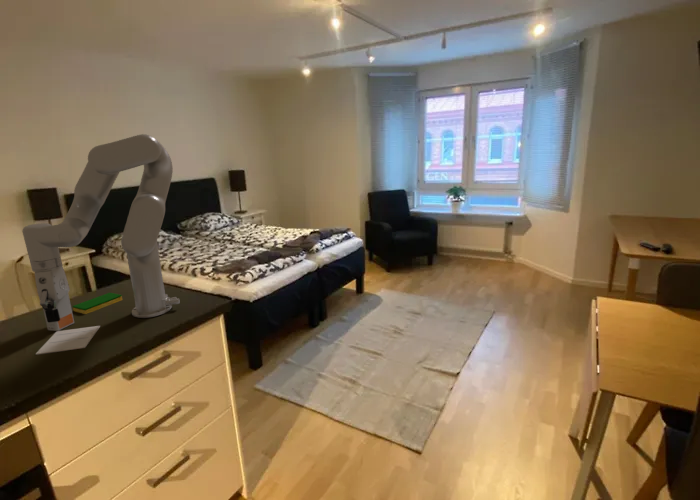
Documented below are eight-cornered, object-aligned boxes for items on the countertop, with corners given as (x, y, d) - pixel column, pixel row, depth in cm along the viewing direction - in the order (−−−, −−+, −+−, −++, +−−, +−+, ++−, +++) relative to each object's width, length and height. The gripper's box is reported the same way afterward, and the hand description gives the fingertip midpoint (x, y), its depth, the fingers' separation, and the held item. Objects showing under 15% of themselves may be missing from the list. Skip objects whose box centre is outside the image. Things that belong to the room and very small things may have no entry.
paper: (100, 326, 122) (100, 325, 122) (85, 347, 109) (84, 346, 109) (56, 332, 119) (56, 331, 119) (35, 354, 106) (35, 353, 106)
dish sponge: (73, 312, 135) (71, 305, 134) (110, 298, 147) (109, 292, 146) (85, 315, 132) (84, 309, 131) (123, 300, 144) (122, 294, 143)
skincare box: (58, 331, 119) (50, 296, 116) (47, 330, 120) (38, 295, 117) (75, 323, 125) (67, 289, 122) (65, 322, 126) (57, 288, 123)
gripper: (48, 270, 110) (61, 326, 115) (71, 255, 126) (82, 304, 131) (17, 273, 108) (32, 330, 113) (45, 257, 124) (57, 307, 129)
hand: (59, 315), depth 122 cm, fingers closed on skincare box, 7 cm apart
